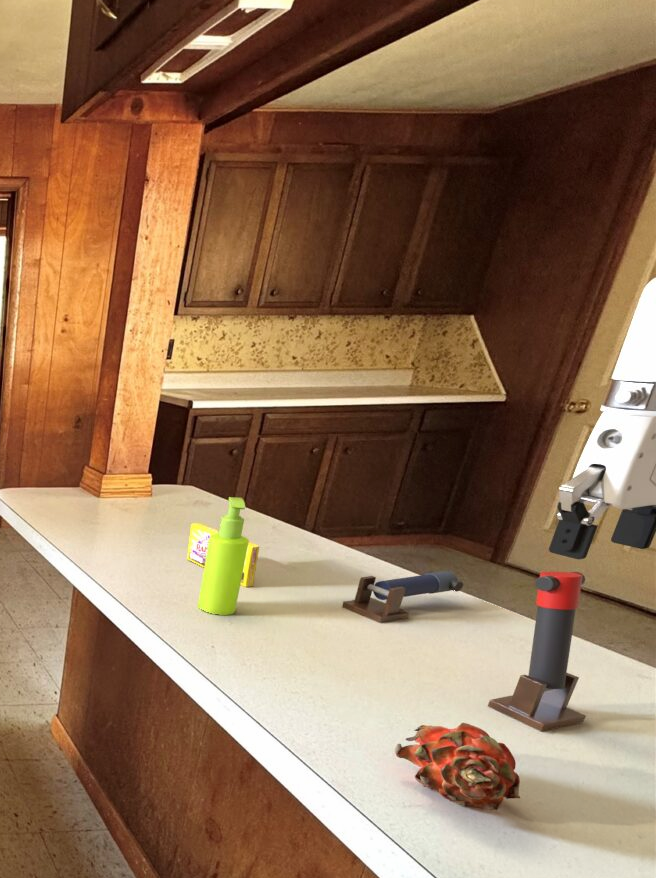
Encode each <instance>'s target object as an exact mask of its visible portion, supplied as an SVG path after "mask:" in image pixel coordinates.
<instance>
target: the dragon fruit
mask: <svg viewBox="0 0 656 878" xmlns="http://www.w3.org/2000/svg"><path fill="white" fill-rule="evenodd" d="M410 729H411V728H410ZM410 729H408V731H410ZM413 731H414V732H416V733H415V735H414V736H411V737H406V738H405V741H407V742H413V741H414V742H416V743H418V744H408V745H404V746H402V744H401V743H397V744H396V746H395V749H394V754H395V756H396V757H397V758H399V759H405V760H407V761H409V763H412V764H414V765H416V766H417V767H420V768H419V770H418V771H417V773H415V775H414V779H415V780H416V781H417V782H418V783H419V784H420V785H421V786H422V787H424V788H428V789H435V790H438V792H439V794H440V796H441V797H443V798H444V799H446V800H449V802H452V803H454V804H457V805H460V806H462V807H468V806H471V805H473V806H474V807H476V808H477V809H479V810H481V811H498V810H499V808H500V806H501V805H502V803H503V802H504V798H506V800H510V799H511V800H512V799H521V796H520V792H519V791H520V781H521V780H520V775H519V774H518V773H517V772H515V769H516V759H515V757H514V755H513V753H512V751H511V750H510V748H508V747H507V745H506V744H505V743H503V742H498V741H497V740H496V739H495V738H493V737H491V735H489V734H488V733H487V731H486V730H484V729H482V728H480V727H477V726H475V725H472V724H470V723H466V722H461V723H460V724H459V725H458V726H457V727H455V728H448V727H445V726H442V725H441V726H440V725H439V726H438V725H437V726H436V725H426V724H421V725H419V726H418V727H417V728H414V729H413Z"/></svg>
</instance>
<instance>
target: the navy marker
mask: <svg viewBox="0 0 656 878" xmlns="http://www.w3.org/2000/svg"><path fill="white" fill-rule="evenodd" d="M396 587H404V588H406V589H405V593H404V596H403V598H405V597H406V598H407V597H412V596H420V595H425V594H428V595H429V594H430V595H432V594H437V593H438V594H439V593H445V592H450V591H453V592H460V591H461V590H462V589H463V587H464V582H462V581H460V580H459V579H458V577H457V575H456V574H455V573H453V572H452V571H449V570H443V571H435V572H433V571H428V572H426V573H425V574H420V575H415V576H414V575H413V576H407V577H399V578H393V579H387V580H379V581H377V582H375V583H374V585H372V584H369V585H368V587H367V589H368V590H371V591H372V593H373V595H374V596H375V598H376V599H377V600H380V601H387V597H388V594H389V590H390V588H396ZM454 590H455V591H454Z"/></svg>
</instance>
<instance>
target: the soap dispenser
mask: <svg viewBox="0 0 656 878" xmlns="http://www.w3.org/2000/svg"><path fill="white" fill-rule="evenodd" d="M228 502H229V505H228V510H227V514H225V515H223V516H221V518H220V523H219V529H218V530H219V533H216V534H212V535H210V538H209V543H208V549H207V555H206V561H205V567H204V568H203V573H202V580H201V585H200V590H199V597H198V602H197V607H199V608H200V609H199V608H198V609H199V610H201V609H202V610H204V611H206V612H205V613H207V612H209V613H208V614H210V613H212V614H211V615H215V614H219V615H218V616H229V614H230V615H233V614H235V613H236V608H237V603H238V598H239V592H240V588H241V585H240V583H241V578H242V573H243V568H244V563H245V558H246V553H247V548H248V543H249V542H250V539H249V538H248V537H246V536H243V535H242V533H243V527H244V523H245V518H243V517H242V516H241V515H240V513H241V510H245V509H246V502H245V500H244V499H243V498H242V497H233V496H232V497H231V496H229V497H228ZM202 610H201V611H202ZM204 611H203V612H204Z"/></svg>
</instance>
